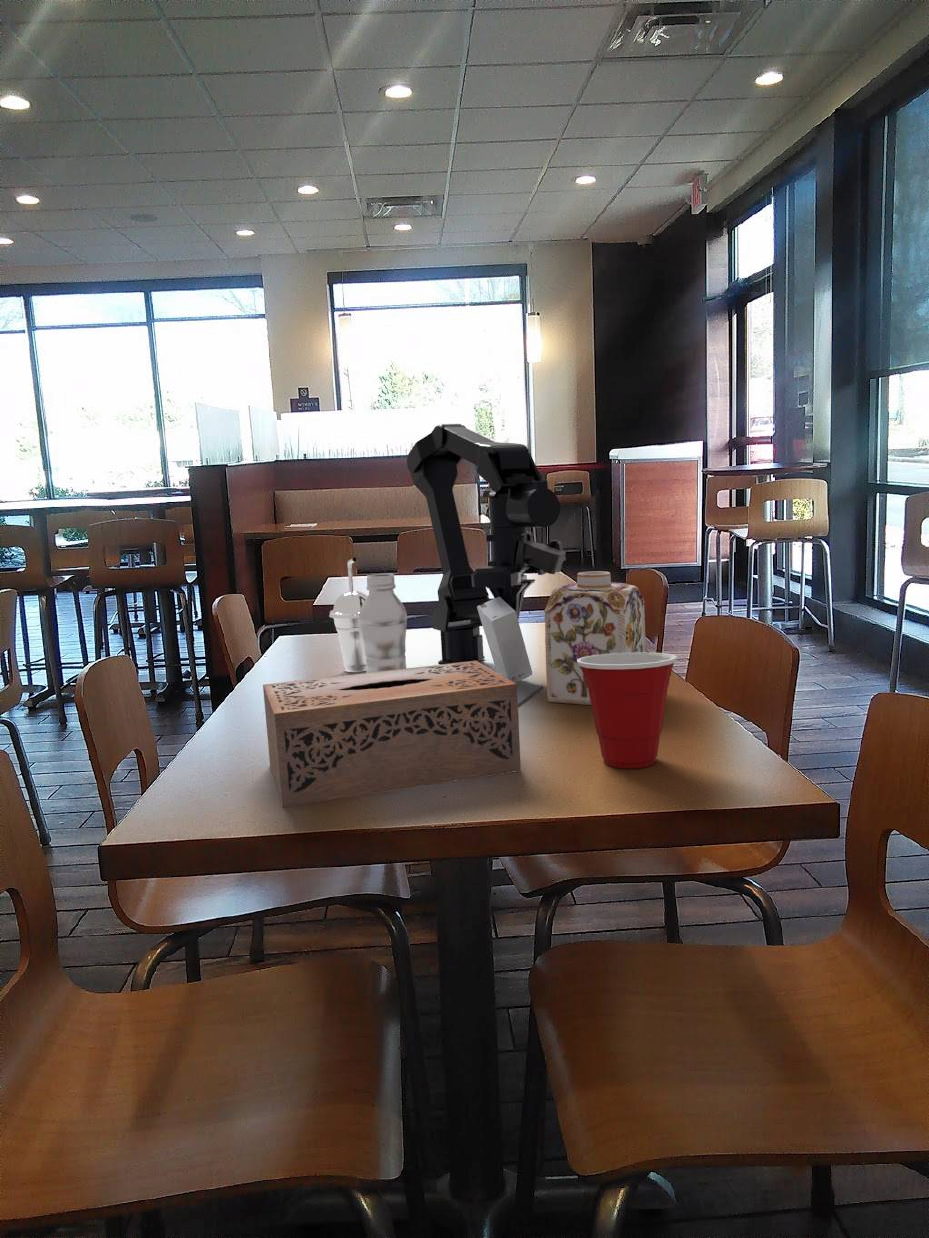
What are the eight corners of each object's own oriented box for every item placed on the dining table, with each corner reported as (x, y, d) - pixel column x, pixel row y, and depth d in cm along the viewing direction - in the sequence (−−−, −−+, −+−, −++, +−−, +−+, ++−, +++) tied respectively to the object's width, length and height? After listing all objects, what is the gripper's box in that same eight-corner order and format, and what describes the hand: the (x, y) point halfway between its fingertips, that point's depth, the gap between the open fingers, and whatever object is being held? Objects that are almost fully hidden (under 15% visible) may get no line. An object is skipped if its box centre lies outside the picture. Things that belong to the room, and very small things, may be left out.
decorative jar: (545, 703, 126) (540, 577, 123) (571, 684, 136) (567, 567, 133) (628, 708, 120) (624, 576, 118) (649, 688, 131) (646, 567, 128)
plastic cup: (661, 742, 104) (659, 642, 103) (692, 771, 94) (691, 660, 92) (570, 749, 104) (567, 648, 102) (591, 779, 93) (587, 667, 91)
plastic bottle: (421, 717, 121) (413, 571, 118) (402, 731, 115) (392, 578, 112) (378, 715, 123) (369, 572, 120) (357, 729, 117) (346, 578, 114)
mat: (433, 706, 127) (433, 704, 127) (470, 683, 140) (470, 682, 140) (512, 710, 122) (512, 708, 122) (543, 687, 135) (543, 685, 135)
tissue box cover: (479, 739, 111) (476, 660, 109) (520, 773, 97) (517, 684, 96) (270, 768, 103) (262, 684, 102) (282, 809, 90) (274, 713, 88)
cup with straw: (387, 664, 159) (380, 552, 156) (373, 675, 150) (365, 557, 147) (342, 664, 160) (333, 554, 157) (325, 675, 151) (316, 559, 148)
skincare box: (534, 674, 138) (518, 610, 132) (508, 686, 137) (492, 622, 131) (517, 656, 143) (501, 594, 137) (492, 668, 142) (475, 605, 136)
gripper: (540, 529, 126) (544, 637, 128) (574, 521, 143) (578, 617, 145) (467, 531, 130) (473, 636, 132) (509, 523, 147) (514, 616, 150)
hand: (513, 626), depth 140 cm, fingers closed
